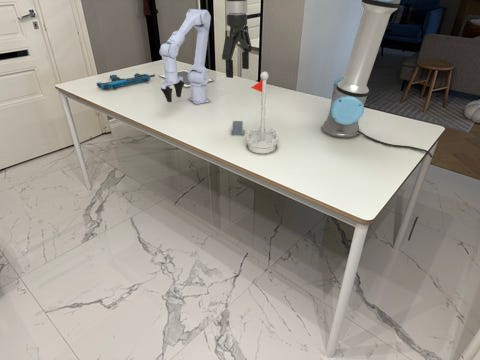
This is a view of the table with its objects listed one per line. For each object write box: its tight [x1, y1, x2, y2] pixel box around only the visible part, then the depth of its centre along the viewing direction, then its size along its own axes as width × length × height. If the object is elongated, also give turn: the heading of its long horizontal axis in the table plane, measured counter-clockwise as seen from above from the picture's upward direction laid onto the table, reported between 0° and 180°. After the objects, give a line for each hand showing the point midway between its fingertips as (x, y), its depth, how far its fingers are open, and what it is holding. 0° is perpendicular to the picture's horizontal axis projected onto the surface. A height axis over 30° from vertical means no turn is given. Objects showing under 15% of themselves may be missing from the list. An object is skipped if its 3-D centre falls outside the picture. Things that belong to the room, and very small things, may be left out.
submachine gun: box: [95, 72, 156, 91], centre depth 209 cm, size 34×4×25 cm
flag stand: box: [245, 71, 280, 154], centre depth 128 cm, size 13×13×30 cm
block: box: [232, 120, 244, 136], centre depth 147 cm, size 4×4×5 cm
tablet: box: [158, 69, 214, 88], centre depth 216 cm, size 32×20×1 cm, turn 41°
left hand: (174, 99), depth 165 cm, fingers open, 7 cm apart
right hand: (237, 73), depth 134 cm, fingers open, 13 cm apart
